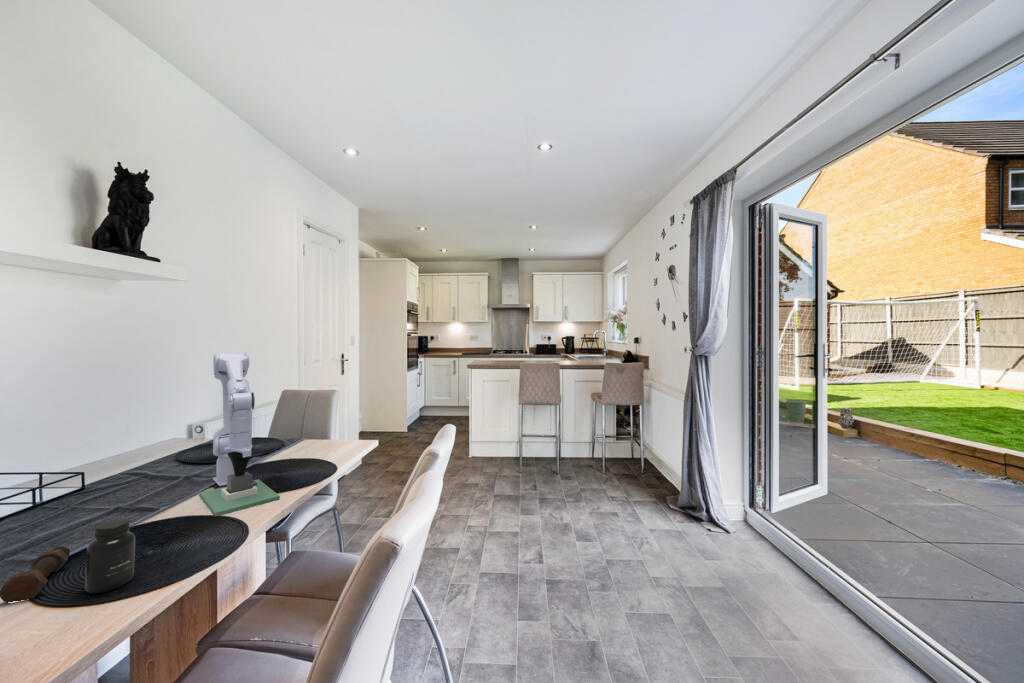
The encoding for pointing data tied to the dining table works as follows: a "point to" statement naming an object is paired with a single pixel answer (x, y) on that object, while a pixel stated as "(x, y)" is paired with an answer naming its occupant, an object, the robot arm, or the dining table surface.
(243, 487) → the plug
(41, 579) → the brown elongated piece
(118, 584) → the supplement bottle
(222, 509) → the header board
